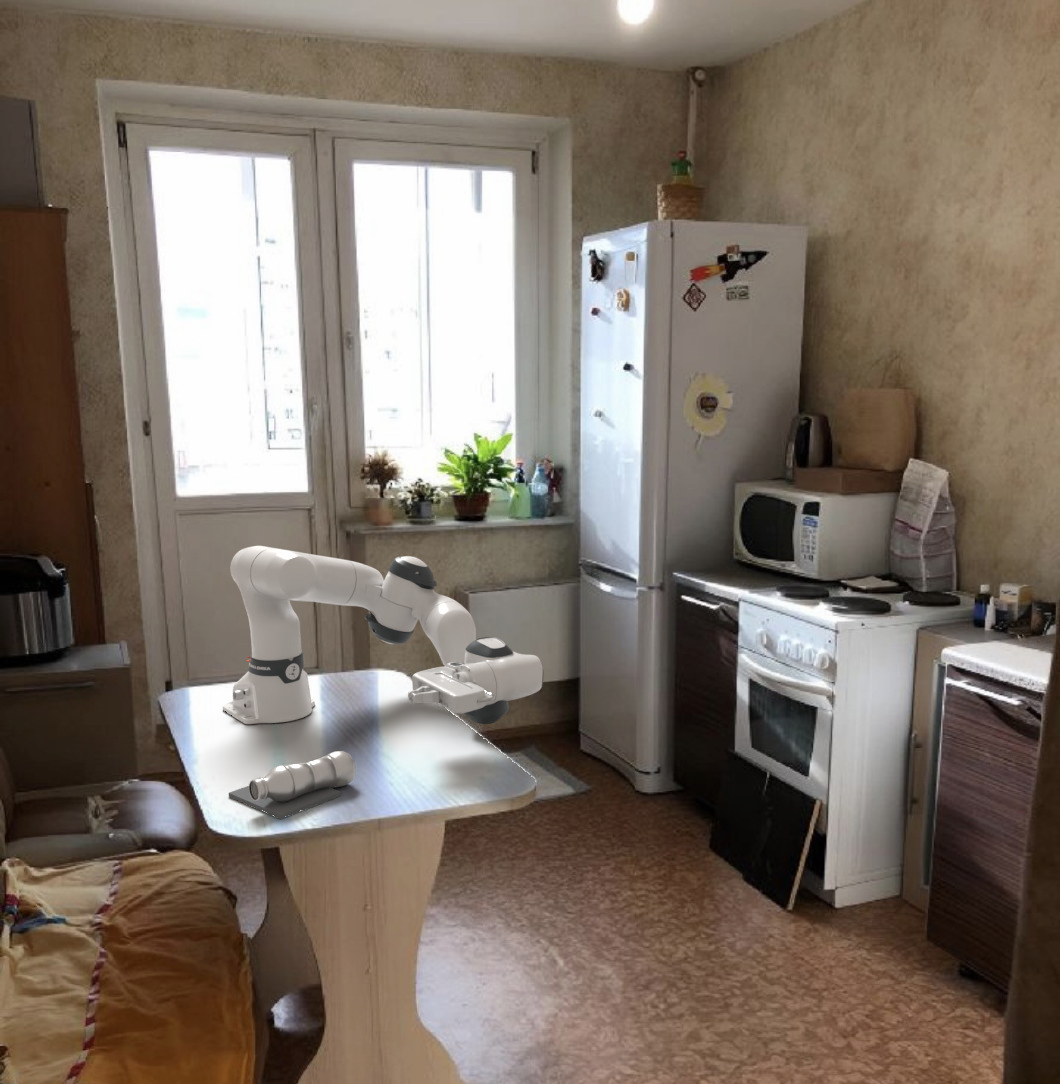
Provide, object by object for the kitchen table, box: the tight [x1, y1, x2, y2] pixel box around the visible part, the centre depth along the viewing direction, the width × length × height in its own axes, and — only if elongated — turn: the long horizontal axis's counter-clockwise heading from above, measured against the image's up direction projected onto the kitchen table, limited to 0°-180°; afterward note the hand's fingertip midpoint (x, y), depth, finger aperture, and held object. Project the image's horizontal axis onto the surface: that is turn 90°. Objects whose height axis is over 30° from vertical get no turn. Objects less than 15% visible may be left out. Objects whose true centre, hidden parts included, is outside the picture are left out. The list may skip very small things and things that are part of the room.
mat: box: [228, 785, 342, 820], centre depth 179 cm, size 16×13×1 cm
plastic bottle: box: [248, 750, 357, 802], centre depth 178 cm, size 6×7×20 cm
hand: (411, 697), depth 191 cm, fingers closed
